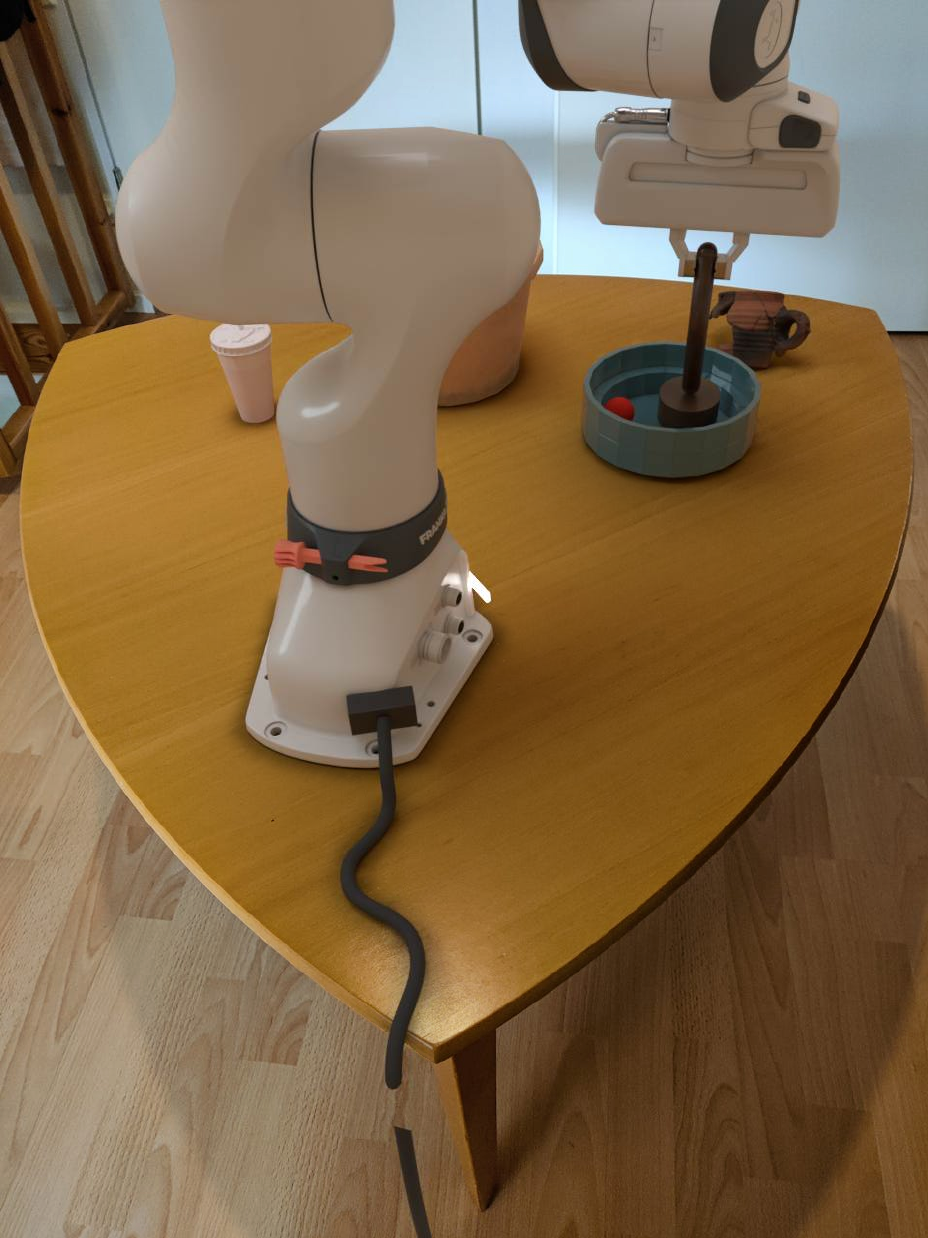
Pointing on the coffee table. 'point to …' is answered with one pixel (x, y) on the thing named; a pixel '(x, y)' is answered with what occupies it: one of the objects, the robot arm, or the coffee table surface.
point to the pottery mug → (760, 325)
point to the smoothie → (247, 367)
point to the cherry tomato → (621, 408)
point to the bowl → (644, 438)
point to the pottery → (489, 351)
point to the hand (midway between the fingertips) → (704, 275)
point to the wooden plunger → (694, 358)
